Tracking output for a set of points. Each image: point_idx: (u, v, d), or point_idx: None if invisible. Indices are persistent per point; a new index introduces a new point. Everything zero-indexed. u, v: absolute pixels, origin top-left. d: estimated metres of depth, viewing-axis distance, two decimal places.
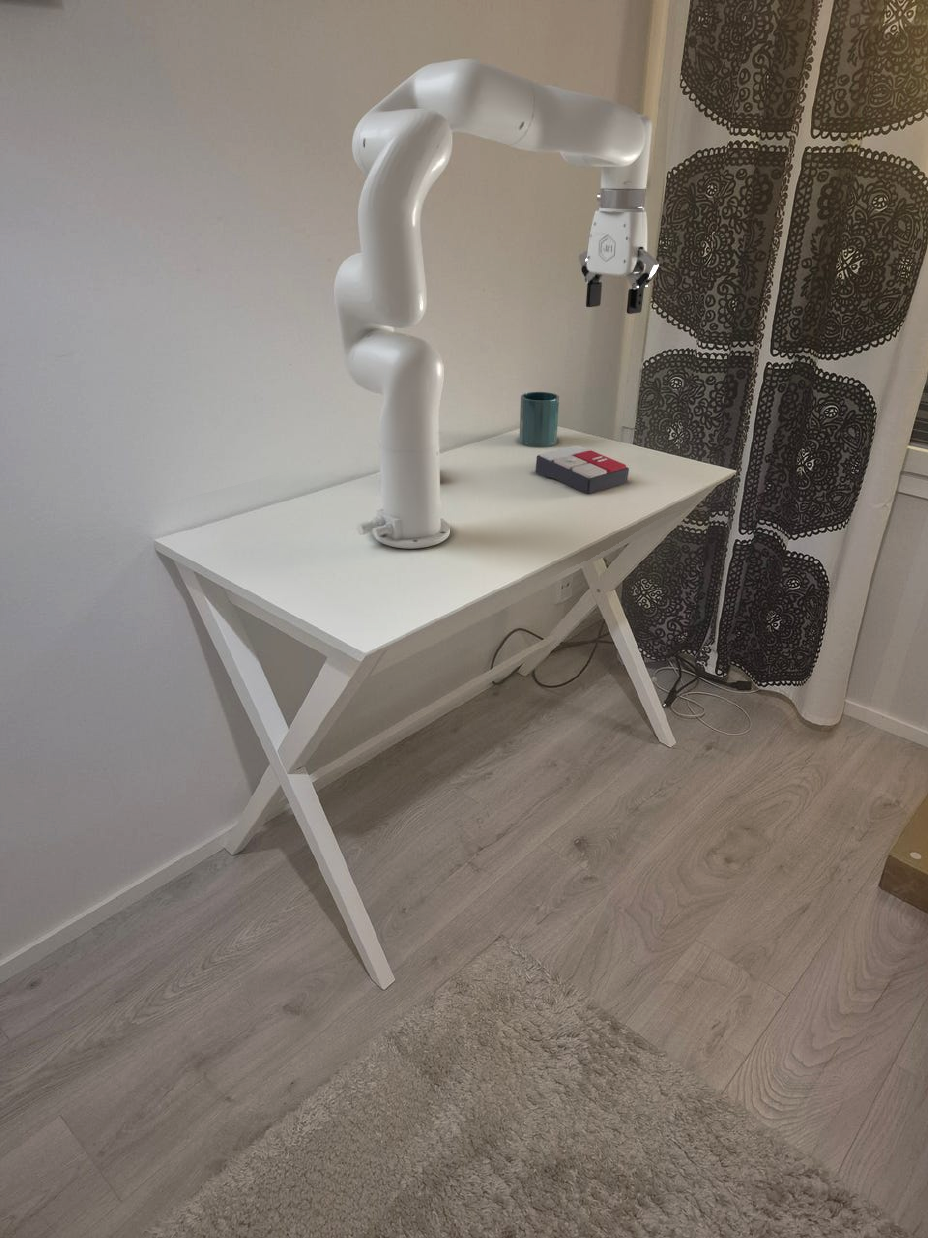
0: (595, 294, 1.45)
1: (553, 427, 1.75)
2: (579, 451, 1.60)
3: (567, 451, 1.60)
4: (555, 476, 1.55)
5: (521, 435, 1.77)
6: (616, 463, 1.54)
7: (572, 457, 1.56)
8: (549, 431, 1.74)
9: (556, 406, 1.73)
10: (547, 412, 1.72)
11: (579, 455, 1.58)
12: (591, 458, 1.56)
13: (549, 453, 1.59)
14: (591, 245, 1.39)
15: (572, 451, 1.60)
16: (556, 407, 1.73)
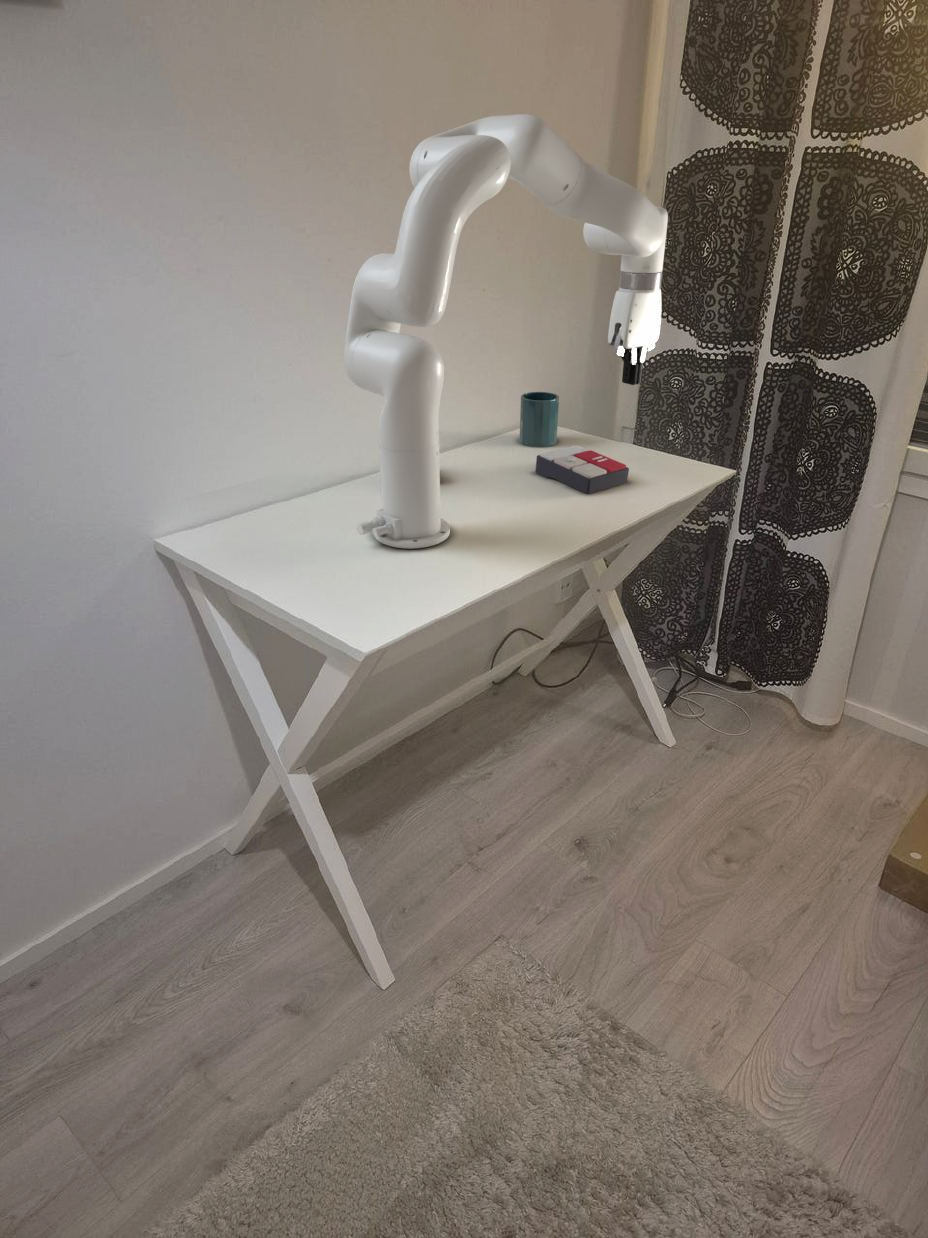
0: None
1: (553, 427, 1.75)
2: (579, 451, 1.60)
3: (567, 451, 1.60)
4: (555, 476, 1.55)
5: (521, 435, 1.77)
6: (616, 463, 1.54)
7: (572, 457, 1.56)
8: (549, 431, 1.74)
9: (556, 406, 1.73)
10: (547, 412, 1.72)
11: (579, 455, 1.57)
12: (591, 458, 1.56)
13: (549, 453, 1.58)
14: None
15: (572, 451, 1.60)
16: (556, 407, 1.73)
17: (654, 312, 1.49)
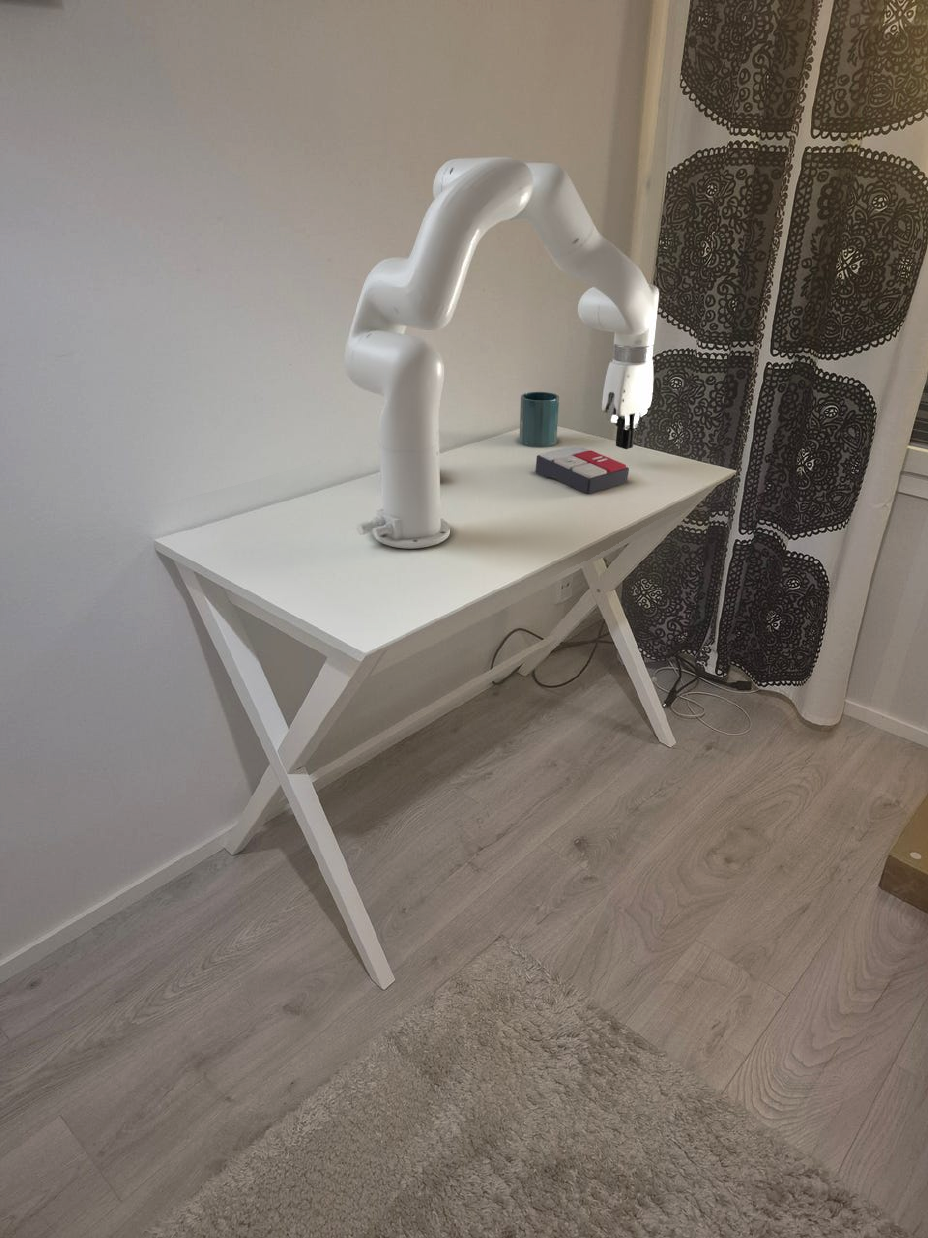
0: None
1: (553, 427, 1.75)
2: (579, 451, 1.60)
3: (567, 451, 1.60)
4: (555, 476, 1.55)
5: (521, 435, 1.77)
6: (616, 463, 1.54)
7: (572, 457, 1.56)
8: (549, 431, 1.74)
9: (556, 406, 1.73)
10: (547, 412, 1.72)
11: (579, 455, 1.57)
12: (591, 458, 1.56)
13: (549, 453, 1.58)
14: None
15: (572, 451, 1.60)
16: (556, 407, 1.73)
17: (646, 381, 1.55)
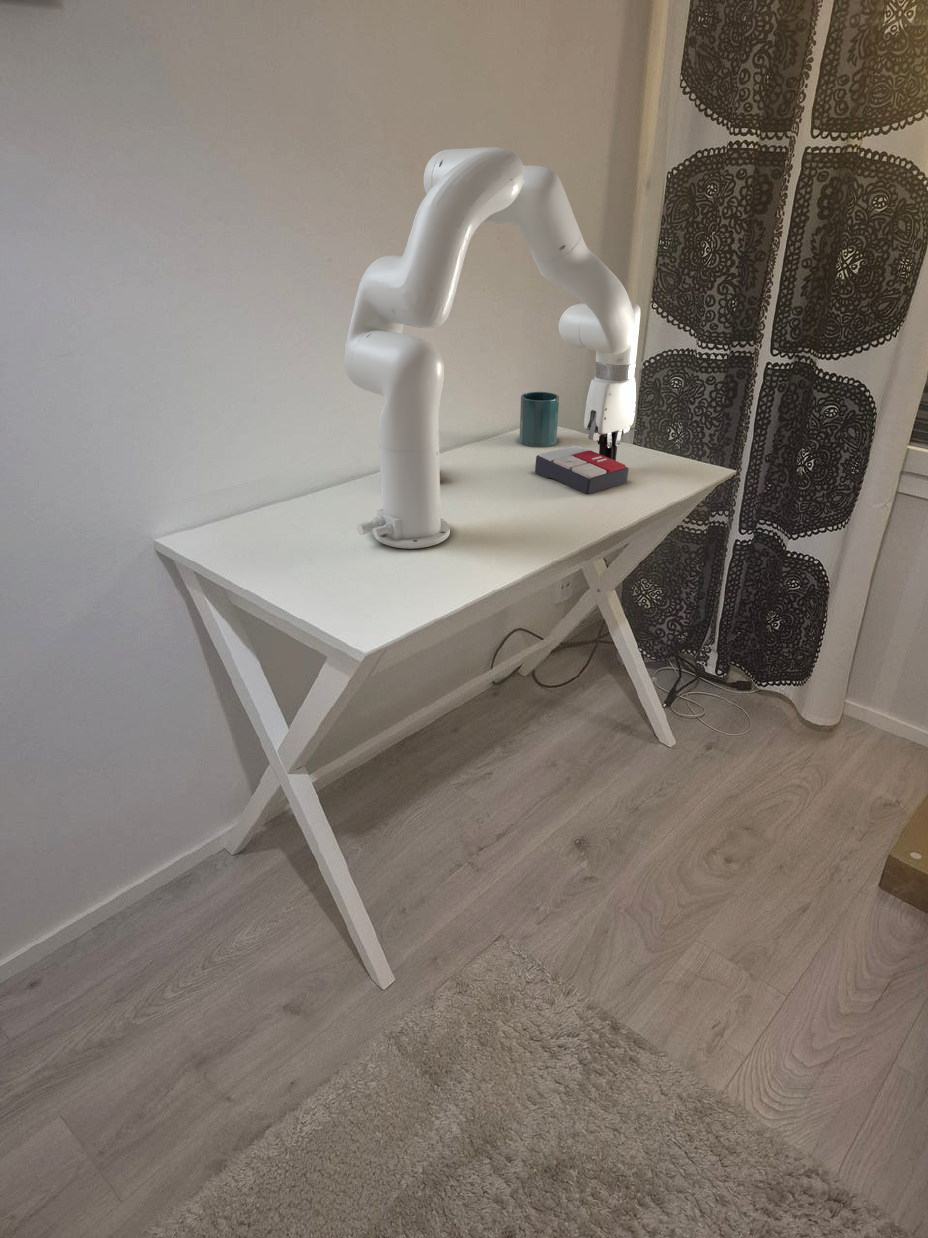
0: None
1: (553, 427, 1.75)
2: (579, 451, 1.60)
3: (566, 451, 1.60)
4: (555, 476, 1.55)
5: (521, 435, 1.77)
6: (616, 463, 1.54)
7: (572, 457, 1.56)
8: (549, 431, 1.74)
9: (556, 406, 1.73)
10: (547, 412, 1.72)
11: (578, 455, 1.57)
12: (591, 458, 1.56)
13: (548, 453, 1.58)
14: None
15: (571, 451, 1.60)
16: (556, 407, 1.73)
17: (628, 399, 1.54)
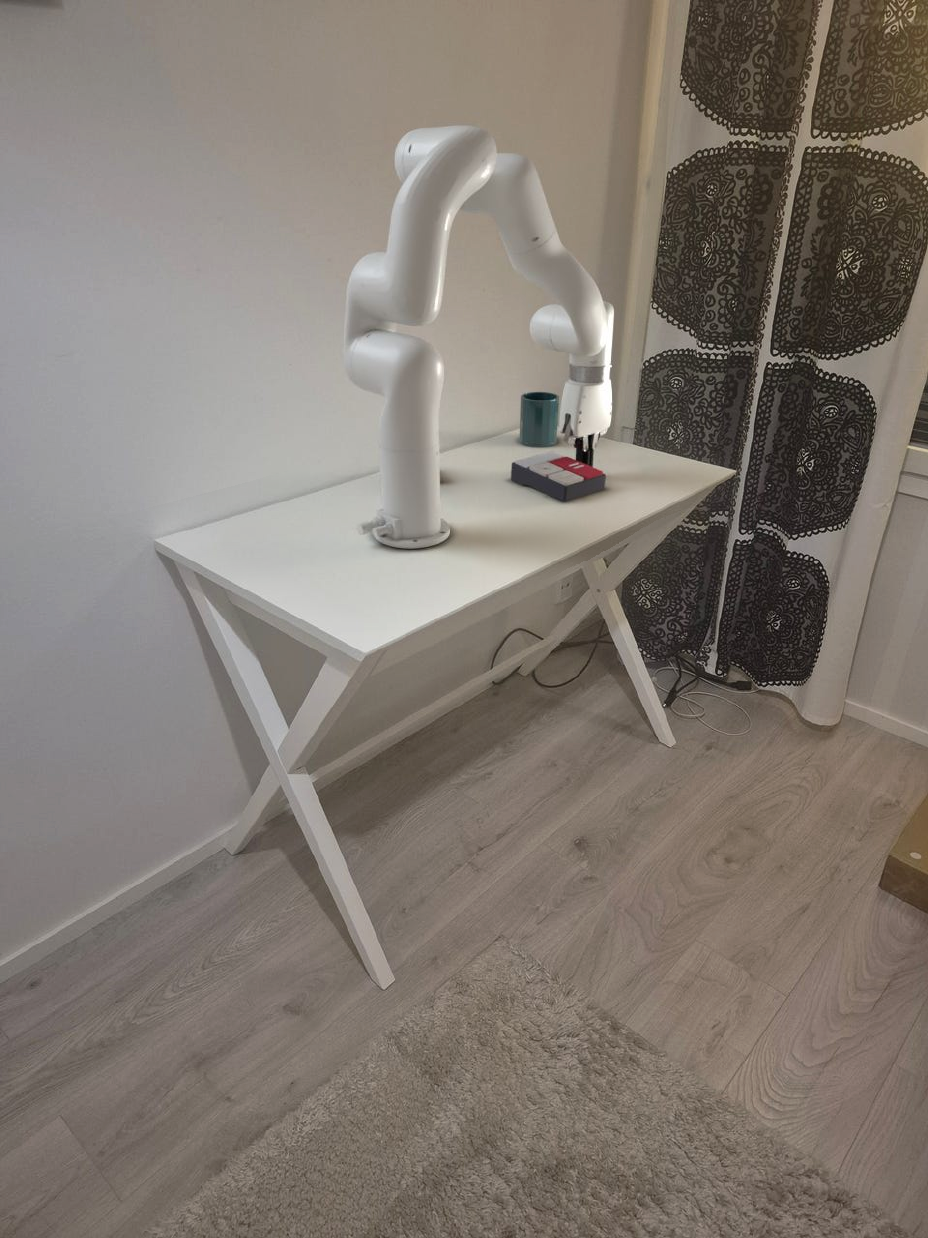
0: None
1: (553, 427, 1.75)
2: (555, 457, 1.57)
3: (543, 458, 1.56)
4: (531, 484, 1.52)
5: (521, 435, 1.77)
6: (593, 470, 1.51)
7: (548, 464, 1.53)
8: (549, 431, 1.74)
9: (556, 406, 1.73)
10: (547, 412, 1.72)
11: (555, 462, 1.54)
12: (567, 465, 1.53)
13: (524, 460, 1.55)
14: None
15: (548, 458, 1.56)
16: (556, 407, 1.73)
17: (604, 401, 1.50)
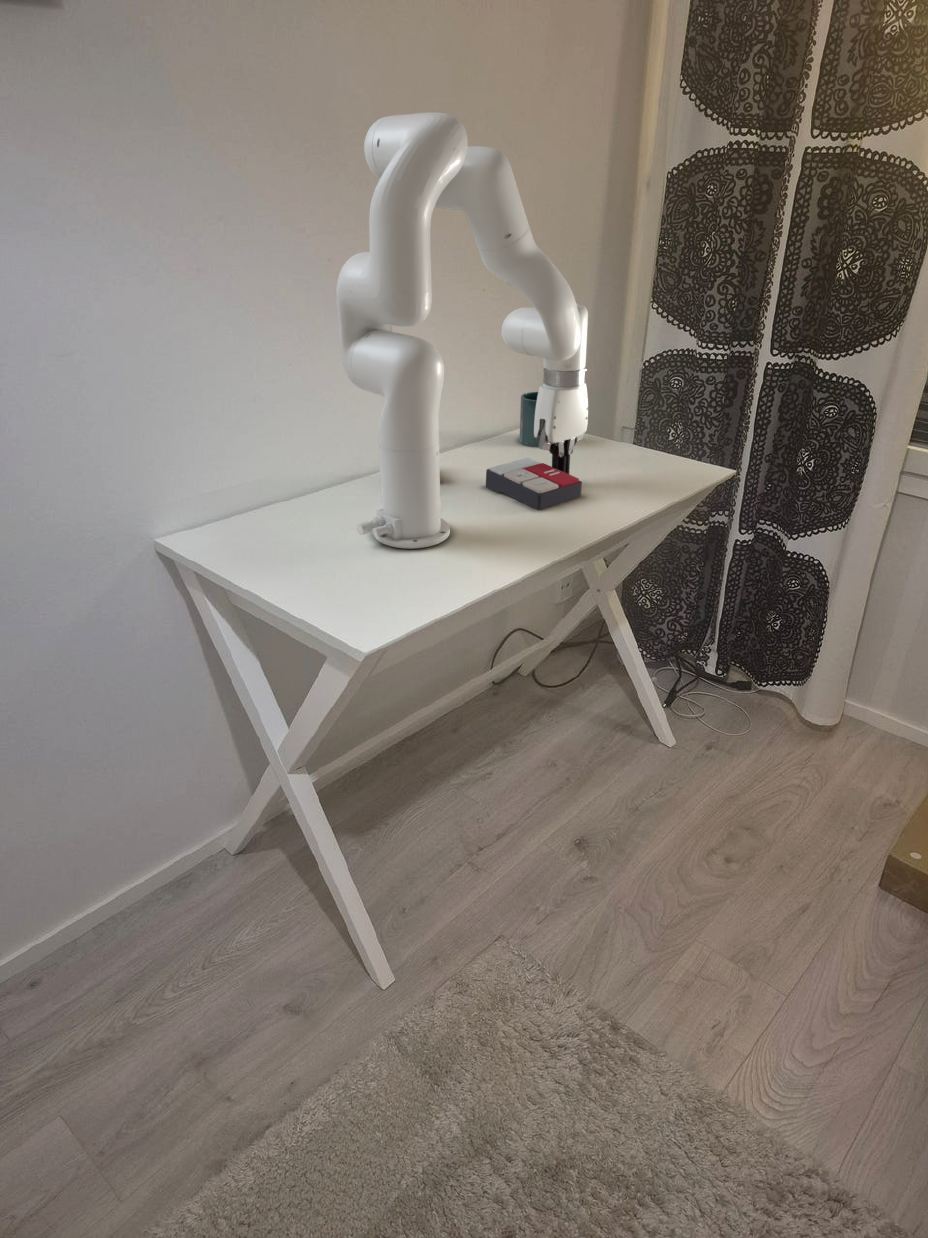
0: None
1: None
2: (531, 464, 1.53)
3: (518, 464, 1.53)
4: (505, 491, 1.48)
5: (521, 435, 1.77)
6: (569, 477, 1.48)
7: (523, 471, 1.49)
8: None
9: None
10: None
11: (530, 468, 1.51)
12: (543, 472, 1.49)
13: (499, 467, 1.51)
14: None
15: (523, 464, 1.53)
16: None
17: (579, 406, 1.47)
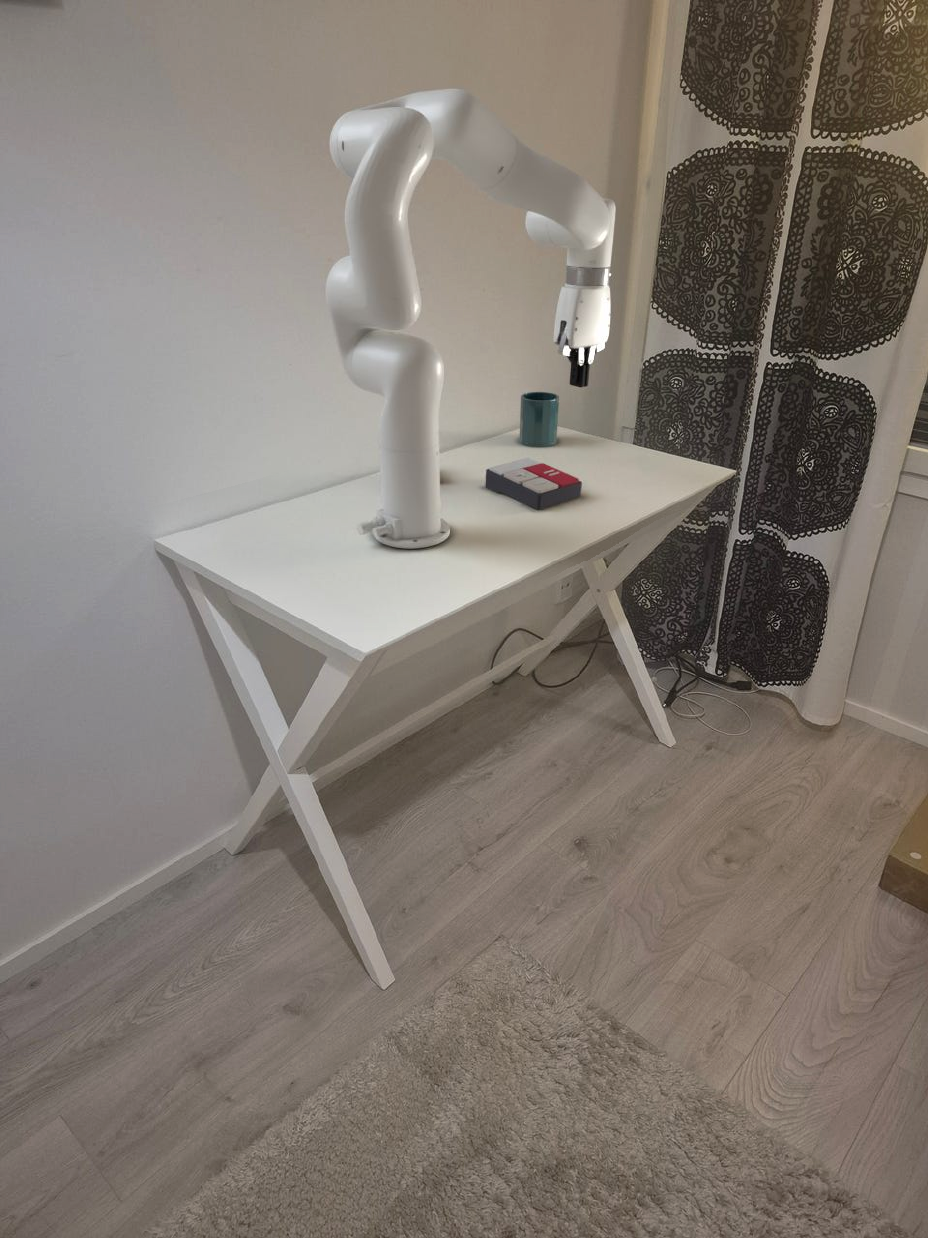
0: None
1: (553, 427, 1.75)
2: (531, 464, 1.53)
3: (518, 464, 1.53)
4: (505, 491, 1.48)
5: (521, 435, 1.77)
6: (568, 477, 1.48)
7: (523, 471, 1.49)
8: (549, 431, 1.74)
9: (556, 406, 1.73)
10: (547, 412, 1.72)
11: (530, 468, 1.51)
12: (543, 472, 1.49)
13: (499, 467, 1.51)
14: None
15: (523, 464, 1.53)
16: (556, 407, 1.73)
17: (602, 310, 1.41)
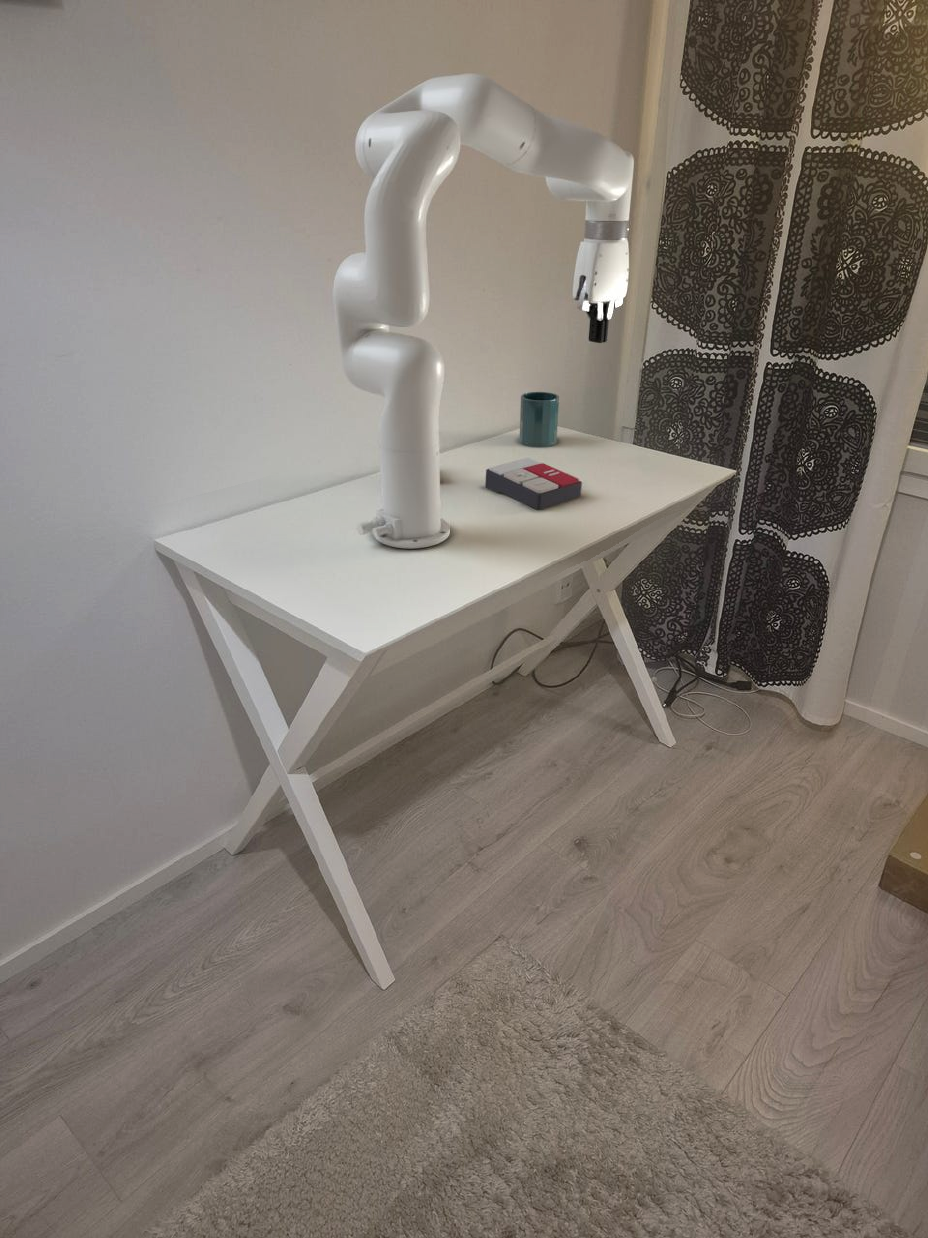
0: None
1: (553, 427, 1.75)
2: (531, 464, 1.53)
3: (518, 464, 1.53)
4: (505, 491, 1.48)
5: (521, 435, 1.77)
6: (568, 477, 1.48)
7: (523, 471, 1.49)
8: (549, 431, 1.74)
9: (556, 406, 1.73)
10: (547, 412, 1.72)
11: (530, 468, 1.51)
12: (543, 472, 1.49)
13: (499, 467, 1.51)
14: None
15: (523, 464, 1.53)
16: (556, 407, 1.73)
17: (621, 265, 1.42)
